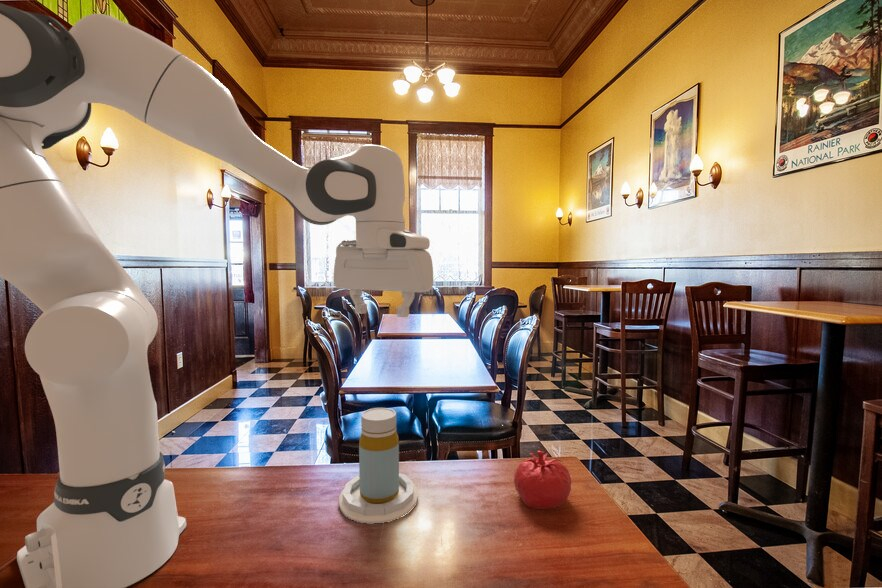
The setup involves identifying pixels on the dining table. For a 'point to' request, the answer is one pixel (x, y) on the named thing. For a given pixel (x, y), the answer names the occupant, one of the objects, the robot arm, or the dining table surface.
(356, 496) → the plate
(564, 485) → the pomegranate
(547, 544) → the dining table surface
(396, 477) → the bottle
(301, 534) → the dining table surface
